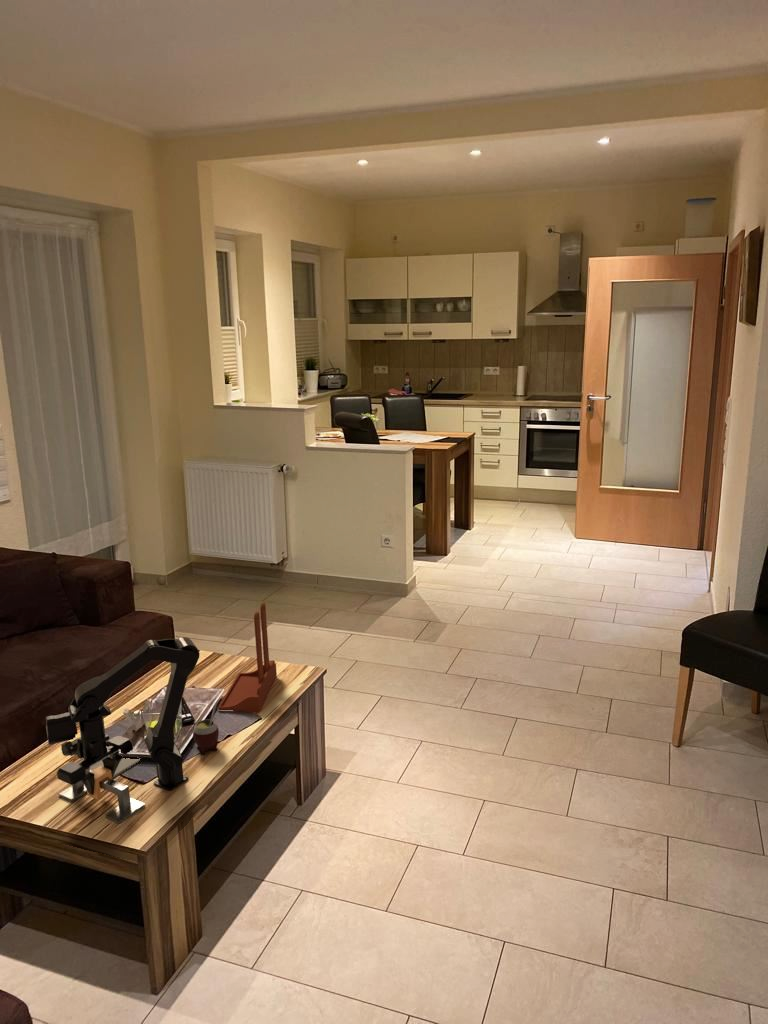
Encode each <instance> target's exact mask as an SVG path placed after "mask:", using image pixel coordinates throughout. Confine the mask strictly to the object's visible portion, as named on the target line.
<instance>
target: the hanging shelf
mask: <svg viewBox="0 0 768 1024" xmlns="http://www.w3.org/2000/svg"><path fill="white" fill-rule="evenodd" d="M266 608H267V606H266V603H265V602H261V604H260V610H259V611H260V613H259V611H255V612H254V615H253V621H254V622H253V623H254V637H255V650H256V653H255V654H256V665H257V669H256V670H254V671H251V672H238V673H237V675H236V676H235V679H234V680H233V682H232V683H231V685H230V687H228V690H227V692H226V693H225V695H224V696H223V697H222V700H221V701H220V703H219V705H217V710H218V709H219V710H233V711H242V712H241V713H260V712H261V710H262V708H263V706H264V705H265V702H266V701H267V698H268V696H269V694H270V692H271V690H272V688H273V686H274V684H275V683H276V680H277V677H278V676H277V674H278V673H277V663H276V661H275V660H272V661H271V662H270V655H269V654H270V652H269V638H268V625H267V624H268V623H267V610H266Z"/></svg>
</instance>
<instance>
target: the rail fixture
mask: <svg viewBox="0 0 768 1024" xmlns="http://www.w3.org/2000/svg"><path fill="white" fill-rule="evenodd" d="M90 772H91V770H90ZM99 785H100V789H102V790H104V791H107V792H109V793H111V794H114V795H116V796H117V801H118V803H117V804H118V806H117V807H115V808H114V809H112V810H110V811H109V812H107V813H106V814H105V816H104V817H105V819H107V820H110V821H112V822H114V823H116V824H118V825H121V824H122V823H123V822H125V821H126V820H128V819H129V818H130V817H133V815H134V814H137V813H138V812H139V811H141V810H142V809H144V808H145V807H146V804H145V803H144V802H142V801H139V800H137V799H135V798H133V797H131V795H130V794H131V793H130V788H129V787H130V786H129V785H127V784H125V783H122V782H120V781H117V780H115V779H114V778H113V779H110V778H108V777H106V778H105V779H103V780H101V781H100V782H99ZM86 794H87V789H86V787H85V786H84V784H83V783H82V781H79V782H78V783H76V784H73V785H70V786H69V787H67V788H66V789H64V790H62V791H61V792H59V793H58V795H59V796H58V797H60V798H62V799H64V800H66V801H68V802H71V803H73V802H74V801H76V800H77V799H79V798H80V797H82V796H84V795H86ZM121 822H122V823H121Z"/></svg>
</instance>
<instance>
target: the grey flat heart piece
mask: <svg viewBox="0 0 768 1024" xmlns="http://www.w3.org/2000/svg"><path fill="white" fill-rule="evenodd" d="M122 713H123V716H124V717H125V719H126V720H127V721H128V722H130V723H131V724H130V725H131V726H132V725H133V724H134V723H136V722H137V721H139V720H140V715H141V710H140V709H136V710H135V711H134V712H132V710H131V709H128V708H125V709H124V710H123V712H122Z"/></svg>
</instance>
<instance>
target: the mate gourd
mask: <svg viewBox="0 0 768 1024" xmlns="http://www.w3.org/2000/svg"><path fill="white" fill-rule="evenodd" d="M223 698H224V696H223V695H221V696H220V697H219V698H218V699H217V700H216V701H215V703H214V704H213V707H212V713H211V716H210V719H202V720H200V721H197V722H196V724H195V725H194V726H193V732H192V738H193V741H194V742H195V744H196V745H197V746H196V749H197V750H200V751H201V752H200V755H201V756H205V755H206V753H207V752H218V750H219V748H217V747H218V741H219V733H220V731H219V728H218V724H217V723H216V722H215V721H214V716H215V711H216V709H217V706H218V703H219V702H221V701H220V700H221V699H223Z"/></svg>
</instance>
